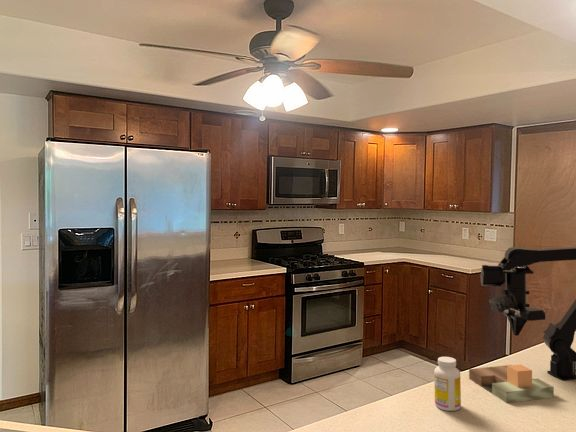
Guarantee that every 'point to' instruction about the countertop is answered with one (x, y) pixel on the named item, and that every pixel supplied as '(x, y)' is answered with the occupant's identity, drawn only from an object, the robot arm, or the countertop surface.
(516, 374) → the block
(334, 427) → the countertop surface
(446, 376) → the supplement bottle
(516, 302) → the robot arm
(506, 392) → the trap board
